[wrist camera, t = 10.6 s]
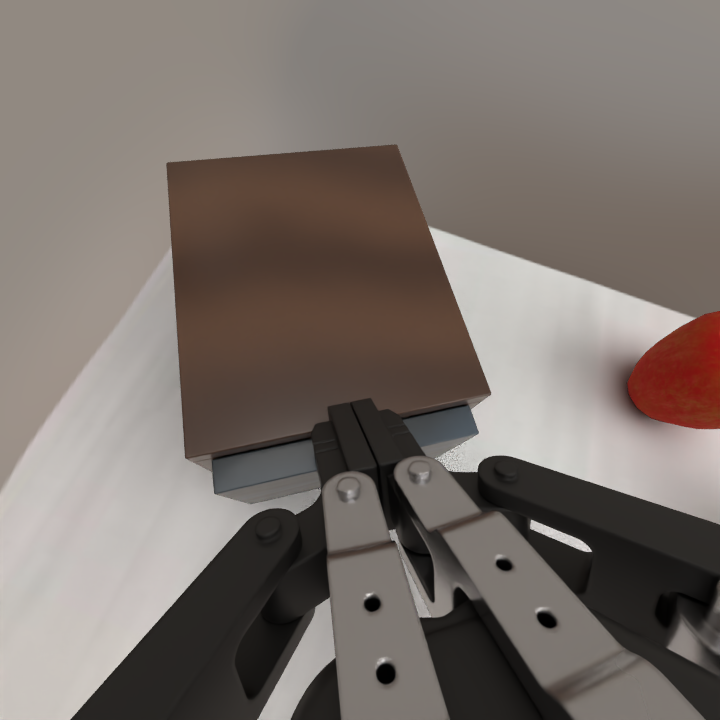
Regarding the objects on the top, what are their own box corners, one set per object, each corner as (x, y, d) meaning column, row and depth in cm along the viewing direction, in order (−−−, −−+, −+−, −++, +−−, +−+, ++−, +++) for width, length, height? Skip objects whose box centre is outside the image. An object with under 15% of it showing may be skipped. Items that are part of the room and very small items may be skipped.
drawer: (436, 483, 21) (490, 464, 14) (252, 529, 19) (217, 532, 13) (375, 277, 26) (394, 192, 19) (225, 299, 24) (189, 213, 18)
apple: (664, 464, 24) (805, 440, 17) (589, 387, 25) (689, 336, 18) (715, 407, 26) (860, 364, 19) (642, 339, 27) (751, 276, 20)
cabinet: (429, 441, 23) (492, 394, 14) (238, 484, 21) (184, 459, 12) (374, 257, 28) (397, 143, 19) (215, 278, 26) (165, 161, 17)
